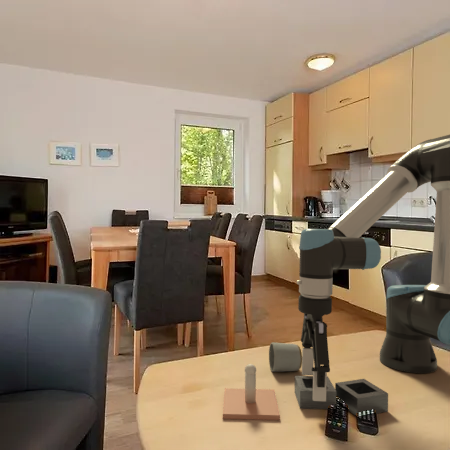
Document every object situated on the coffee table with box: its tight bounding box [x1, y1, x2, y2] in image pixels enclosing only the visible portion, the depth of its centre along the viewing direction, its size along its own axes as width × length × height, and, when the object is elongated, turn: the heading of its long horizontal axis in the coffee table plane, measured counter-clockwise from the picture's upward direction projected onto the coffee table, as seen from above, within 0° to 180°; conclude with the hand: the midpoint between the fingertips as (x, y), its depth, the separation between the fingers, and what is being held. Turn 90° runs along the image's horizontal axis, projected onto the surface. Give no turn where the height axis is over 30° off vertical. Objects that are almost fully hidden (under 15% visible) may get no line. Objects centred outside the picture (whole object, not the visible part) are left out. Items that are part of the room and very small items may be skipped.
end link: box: [294, 375, 337, 410], centre depth 87 cm, size 8×8×4 cm
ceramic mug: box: [268, 342, 302, 373], centre depth 106 cm, size 11×8×8 cm
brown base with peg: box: [222, 363, 281, 421], centre depth 84 cm, size 12×12×9 cm
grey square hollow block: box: [334, 378, 389, 416], centre depth 85 cm, size 8×8×4 cm
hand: (312, 386), depth 87 cm, fingers open, 13 cm apart
